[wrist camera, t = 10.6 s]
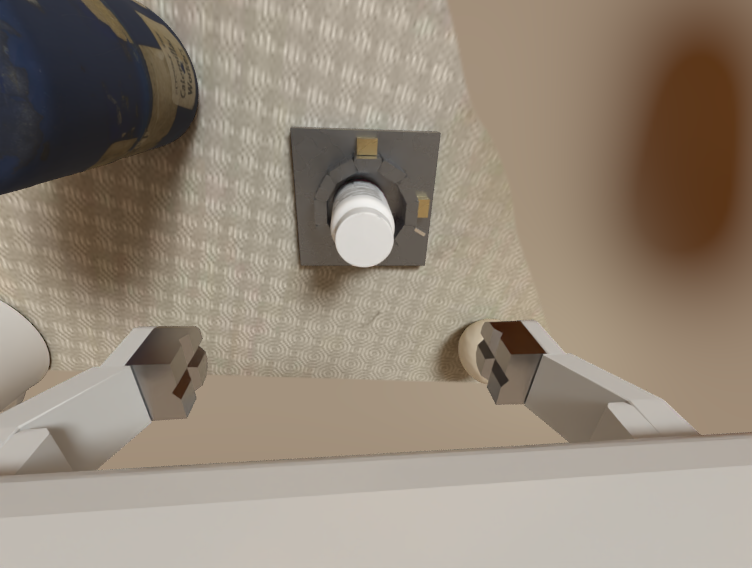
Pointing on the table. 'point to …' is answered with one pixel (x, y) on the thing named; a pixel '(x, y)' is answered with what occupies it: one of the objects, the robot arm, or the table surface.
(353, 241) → the pill bottle
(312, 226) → the lock socket
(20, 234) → the table surface
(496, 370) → the robot arm
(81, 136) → the canister
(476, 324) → the beige sphere
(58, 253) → the table surface
